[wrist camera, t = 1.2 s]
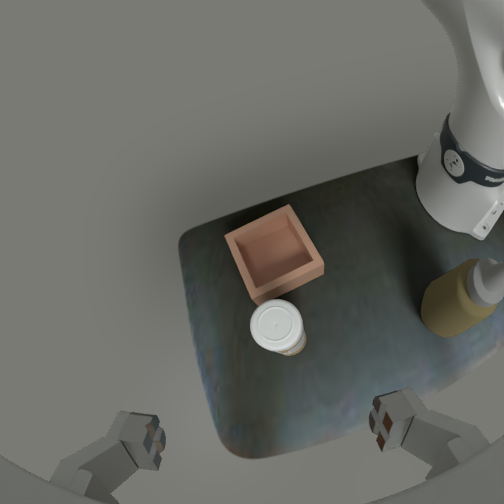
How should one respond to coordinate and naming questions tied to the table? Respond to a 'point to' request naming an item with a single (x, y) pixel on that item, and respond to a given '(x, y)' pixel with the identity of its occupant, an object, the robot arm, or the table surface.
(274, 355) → the table surface
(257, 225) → the terracotta socket
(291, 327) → the sprinkles bottle
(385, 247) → the table surface
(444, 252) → the table surface
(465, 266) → the squeeze bottle
